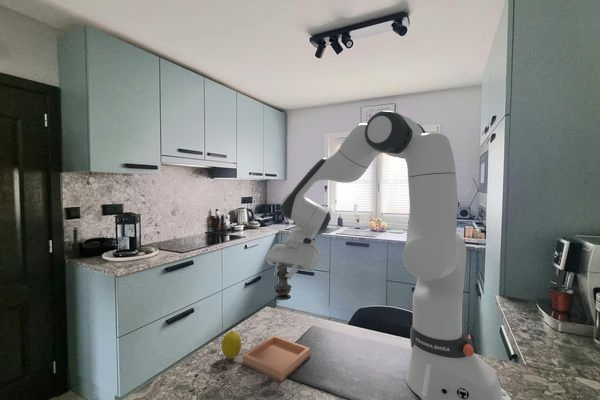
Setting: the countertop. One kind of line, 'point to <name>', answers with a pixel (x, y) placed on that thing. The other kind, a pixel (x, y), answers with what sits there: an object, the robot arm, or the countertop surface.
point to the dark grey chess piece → (282, 284)
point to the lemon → (231, 344)
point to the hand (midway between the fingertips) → (281, 277)
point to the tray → (276, 357)
